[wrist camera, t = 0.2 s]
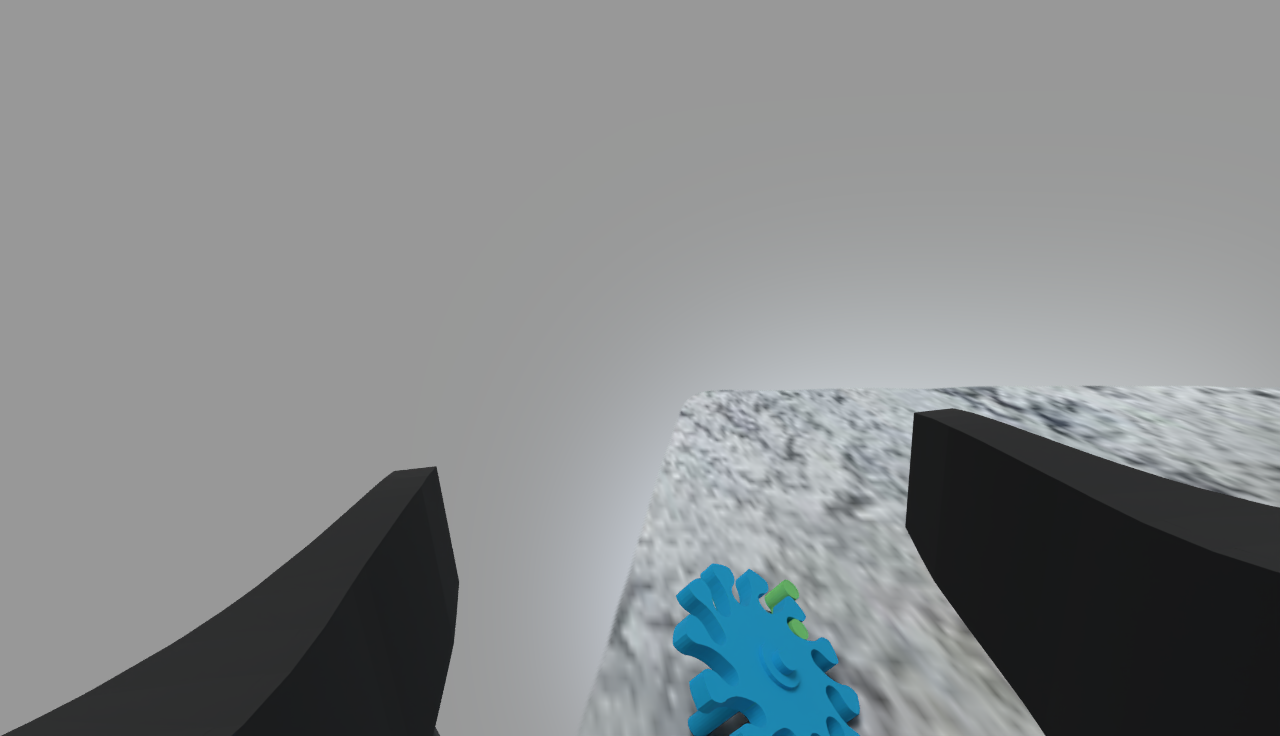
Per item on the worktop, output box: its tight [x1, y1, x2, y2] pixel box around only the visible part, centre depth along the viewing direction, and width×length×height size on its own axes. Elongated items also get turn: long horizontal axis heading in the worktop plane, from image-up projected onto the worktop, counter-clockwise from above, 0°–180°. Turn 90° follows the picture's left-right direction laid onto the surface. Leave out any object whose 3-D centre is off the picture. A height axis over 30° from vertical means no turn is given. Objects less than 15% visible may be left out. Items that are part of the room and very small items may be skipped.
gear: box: [673, 564, 860, 736], centre depth 33 cm, size 11×6×10 cm
